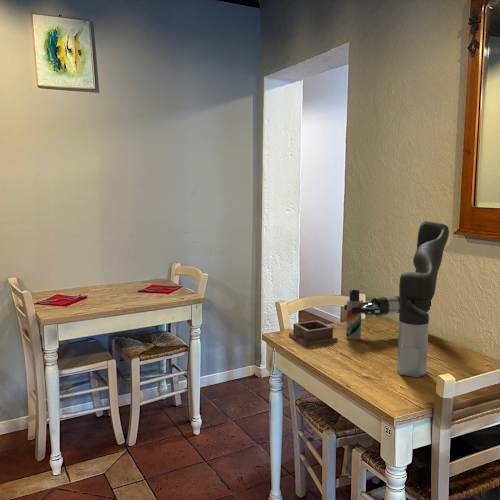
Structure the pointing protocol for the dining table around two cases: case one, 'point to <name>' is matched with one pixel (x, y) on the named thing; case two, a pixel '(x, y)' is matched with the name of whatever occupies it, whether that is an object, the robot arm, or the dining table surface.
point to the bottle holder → (312, 333)
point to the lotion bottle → (353, 316)
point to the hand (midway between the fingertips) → (348, 309)
